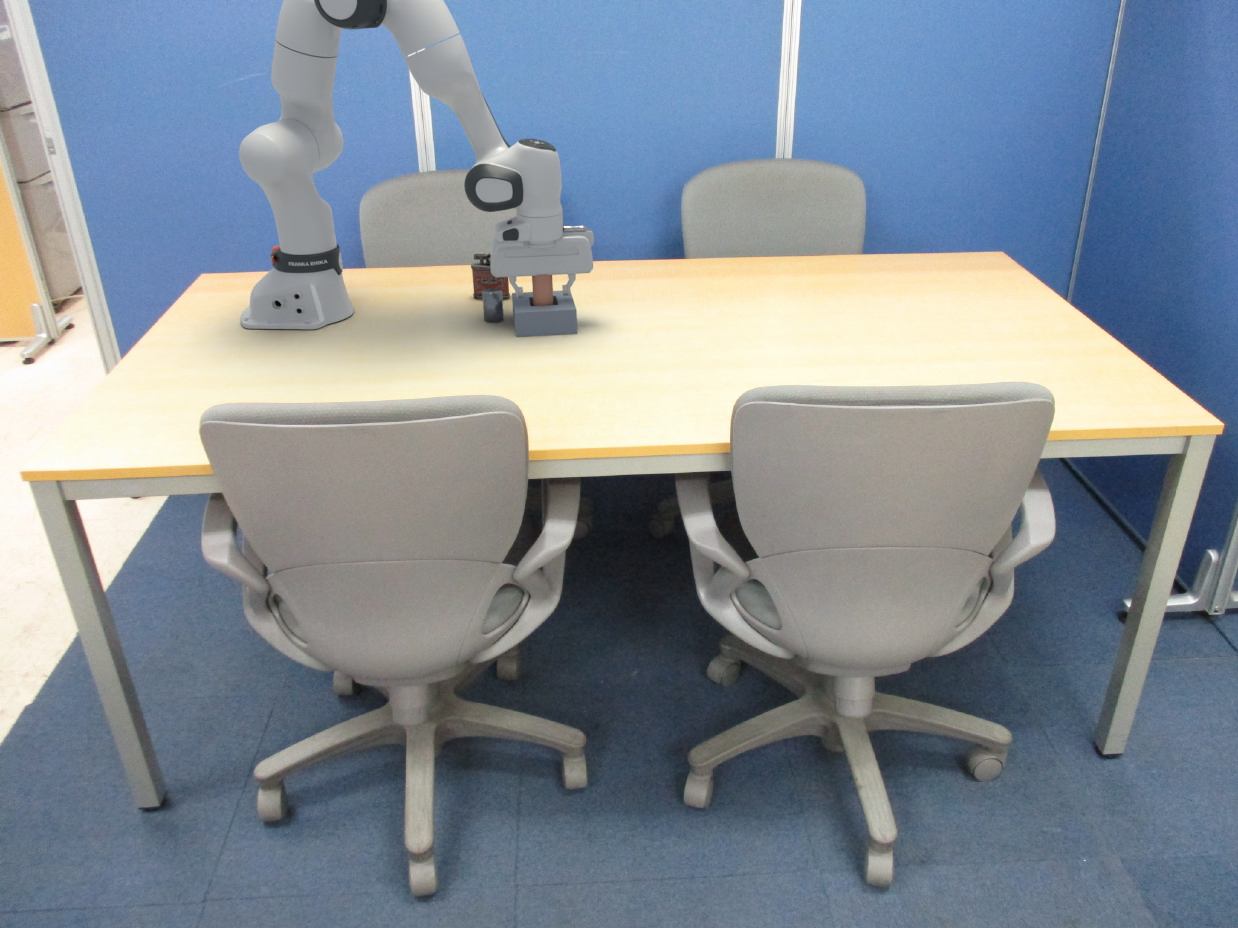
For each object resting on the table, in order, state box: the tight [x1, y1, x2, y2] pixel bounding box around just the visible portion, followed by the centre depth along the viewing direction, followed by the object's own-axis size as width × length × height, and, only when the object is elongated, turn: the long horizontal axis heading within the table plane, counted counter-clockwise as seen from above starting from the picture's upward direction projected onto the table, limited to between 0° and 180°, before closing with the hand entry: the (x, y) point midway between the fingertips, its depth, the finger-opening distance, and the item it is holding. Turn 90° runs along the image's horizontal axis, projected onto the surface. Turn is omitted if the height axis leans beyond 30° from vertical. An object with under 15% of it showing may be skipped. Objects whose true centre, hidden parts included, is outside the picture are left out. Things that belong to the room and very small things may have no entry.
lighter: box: [470, 251, 511, 301], centre depth 213 cm, size 8×3×10 cm, turn 84°
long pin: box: [531, 274, 554, 306], centre depth 198 cm, size 4×4×11 cm
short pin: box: [482, 289, 505, 324], centre depth 201 cm, size 4×4×6 cm
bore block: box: [511, 290, 578, 338], centre depth 199 cm, size 12×12×5 cm
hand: (543, 296), depth 197 cm, fingers open, 8 cm apart
